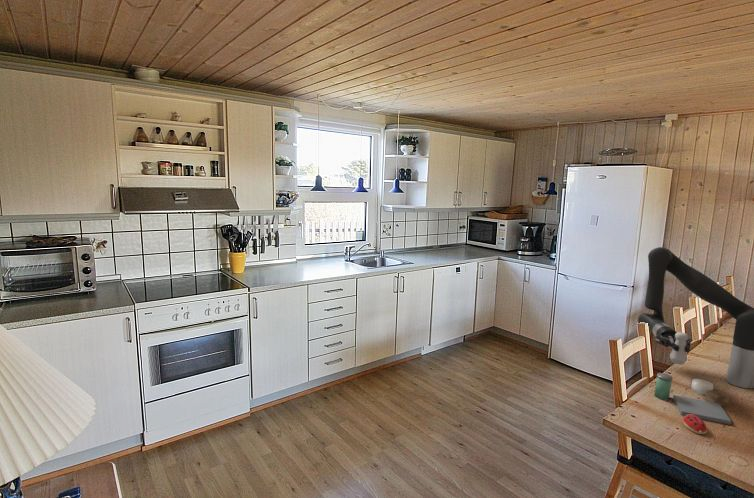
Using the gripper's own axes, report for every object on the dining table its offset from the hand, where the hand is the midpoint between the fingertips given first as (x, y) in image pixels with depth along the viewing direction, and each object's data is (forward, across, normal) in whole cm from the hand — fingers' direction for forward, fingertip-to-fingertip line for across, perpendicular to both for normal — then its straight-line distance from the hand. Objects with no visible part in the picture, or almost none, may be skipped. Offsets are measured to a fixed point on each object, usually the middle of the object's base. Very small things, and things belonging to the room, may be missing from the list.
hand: (682, 349), depth 169 cm
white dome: (-5, +12, +20) cm, 24 cm away
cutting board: (+12, +4, +20) cm, 23 cm away
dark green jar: (+4, -7, +20) cm, 21 cm away
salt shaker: (-3, 0, +7) cm, 8 cm away
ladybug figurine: (+25, -4, +20) cm, 32 cm away
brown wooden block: (+3, +13, +20) cm, 24 cm away
